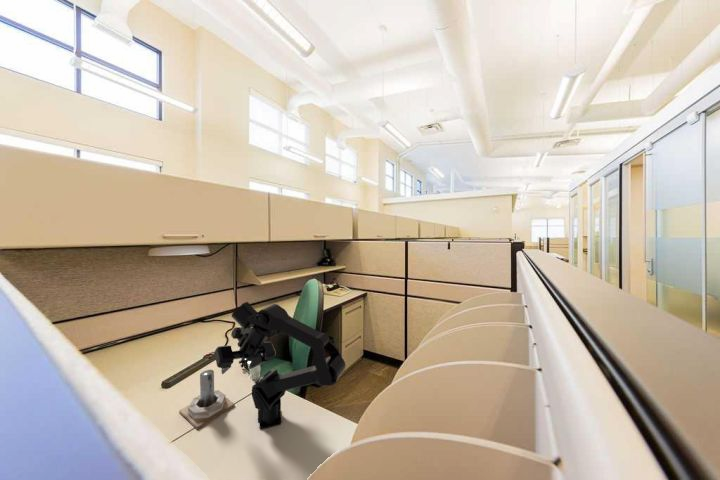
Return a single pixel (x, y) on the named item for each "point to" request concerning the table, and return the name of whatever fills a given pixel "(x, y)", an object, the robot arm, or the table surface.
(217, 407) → the bore block
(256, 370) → the valve
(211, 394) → the metal pin
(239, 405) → the table surface
